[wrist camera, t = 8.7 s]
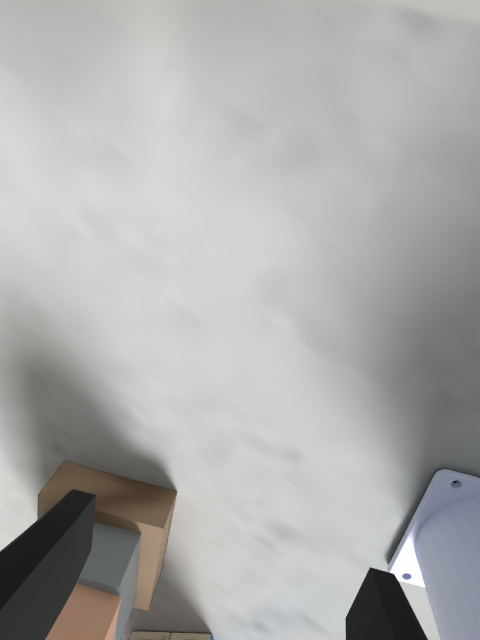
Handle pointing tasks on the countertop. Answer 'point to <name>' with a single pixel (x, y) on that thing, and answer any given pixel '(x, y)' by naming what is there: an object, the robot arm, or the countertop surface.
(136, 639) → the stack of blocks
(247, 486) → the countertop surface
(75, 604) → the terracotta block
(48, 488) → the walnut base block
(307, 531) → the countertop surface
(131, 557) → the gray top block
